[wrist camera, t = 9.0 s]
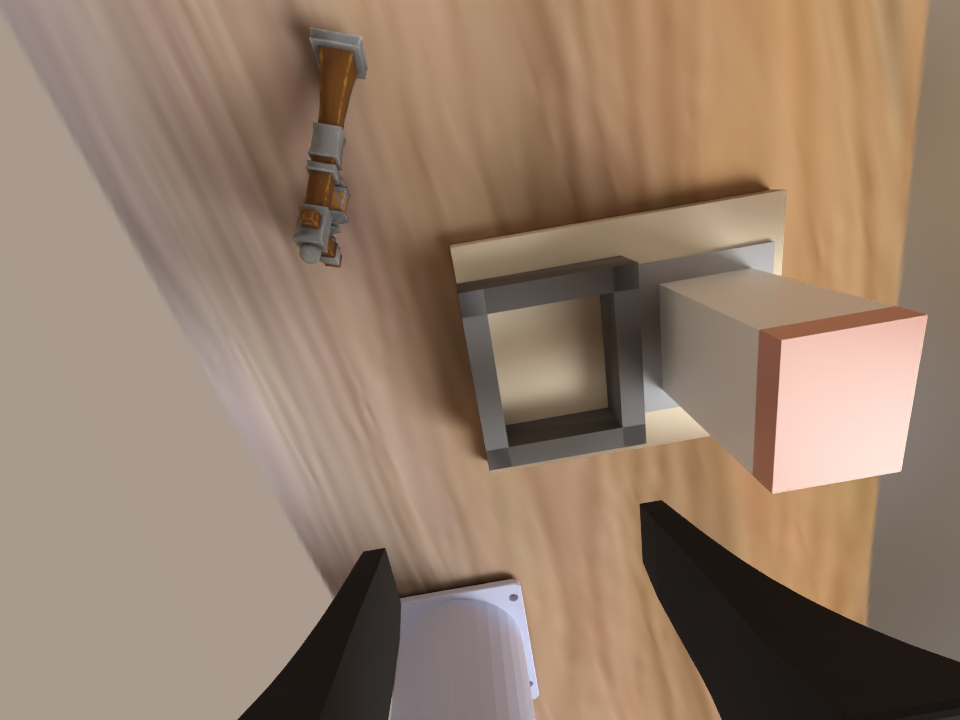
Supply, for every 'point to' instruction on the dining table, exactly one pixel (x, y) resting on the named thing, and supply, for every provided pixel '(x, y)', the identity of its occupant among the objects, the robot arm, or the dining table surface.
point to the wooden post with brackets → (329, 146)
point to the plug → (792, 374)
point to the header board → (594, 323)
